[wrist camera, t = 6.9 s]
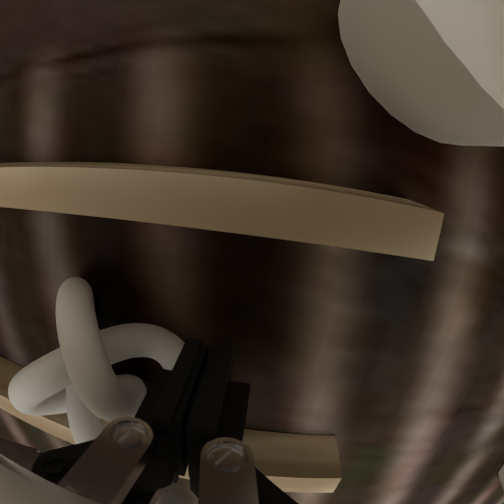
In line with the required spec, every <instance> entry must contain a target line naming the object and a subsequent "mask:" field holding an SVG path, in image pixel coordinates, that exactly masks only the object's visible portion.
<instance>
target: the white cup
mask: <svg viewBox="0 0 504 504" xmlns="http://www.w3.org/2000/svg"><path fill="white" fill-rule="evenodd" d="M498 478H499V481H500V483H501V485H502V488H503V490H504V464H503V466H502V467H501V469H500V471H499V472H498Z"/></svg>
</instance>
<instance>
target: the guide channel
mask: <svg viewBox="0 0 504 504" xmlns="http://www.w3.org/2000/svg"><path fill="white" fill-rule="evenodd" d="M0 207H8V208H18V209H28V210H38V211H48V212H58V213H67V214H76V215H86V216H95V217H104V218H113V219H122V220H130V221H139V222H148V223H156V224H164V225H173V226H181V227H189V228H197V229H206V230H214V231H221V232H229V233H237V234H245V235H253V236H260V237H268V238H275V239H283V240H290V241H298V242H305V243H312V244H320V245H327V246H334V247H341V248H348V249H355V250H362V251H369V252H376V253H383V254H390V255H397V256H403V257H410V258H417V259H423V260H430V261H434V257H435V253H436V249H437V245H438V240H439V236H440V232H441V227H442V222H443V217H444V213H442V212H440V211H437V210H435V209H432V208H430V207H427V206H424V205H422V204H419V203H417V202H414V201H411V200H408V199H404V198H399V197H395V196H390V195H384V194H379V193H374V192H369V191H363V190H358V189H352V188H346V187H341V186H335V185H328V184H322V183H316V182H309V181H303V180H296V179H288V178H281V177H274V176H266V175H258V174H249V173H241V172H231V171H222V170H212V169H201V168H189V167H176V166H162V165H146V164H127V163H100V162H15V163H0ZM23 368H24V367H21V366H19V365H17V364H15V363H13V362H11V361H8V360H6V359H4V358H2V357H0V408H2V409H3V410H5V411H7V412H9V413H10V414H12V415H14V416H16V417H18V418H19V419H21V420H23V421H25V422H27V423H29V424H31V425H33V426H35V427H37V428H39V429H41V430H43V431H45V432H47V433H49V434H52V435H54V436H56V437H58V438H60V439H63V440H65V441H67V442H70V443H72V444H76V443H75V441H74V439H73V436H72V433H71V430H70V426H69V422H68V416H67V413H62V414H54V415H41V416H33V415H27V414H23V413H21V412H19V411H18V410H16V409H15V408H14V407H13V405H12V403H11V402H10V400H9V396H8V387H9V383H10V381H11V380H12V378H13V377H14V376H15V375H16V374H17V373H18V372H19V371H20V370H21V369H23ZM100 420H101V423H102V426H103V429H104V428H105V427H106V426H107V425H108V424H109V423H110V422H107V421H104V420H102V419H100ZM243 442H244V443H245V444H246V445H248V446H249V448H250V449H251V450H252V452H253V456H254V463H255V467H256V468H257V469H258V470H259V471H260V472H261V473H263V474H264V475H265V476H266V477H267V478H268V479H269V480H270V481H272V482H273V483H274V484H275V485H276V486H277V487H279V488H280V489H281V490H282V491H283V492H310V493H327V492H333V491H334V490H335V488H336V487H337V485H338V484H339V482H340V480H341V479H342V476H341V469H340V462H339V456H338V449H337V443H336V437H335V436H330V435H305V434H290V433H277V432H267V431H258V430H249V429H244V435H243ZM179 477H180V478H185V479H190V478H189V474H188V467H187V470H186V474H185V476H180V475H179Z"/></svg>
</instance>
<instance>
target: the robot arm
mask: <svg viewBox="0 0 504 504" xmlns="http://www.w3.org/2000/svg"><path fill="white" fill-rule="evenodd" d="M233 355H234V345H230V344H223V343H219V344H218V347H216V346H212V348H211V351H210V354H209V357H208V345H204V344H203V340H198V339H193V338H187V340H186V342H185V344H184V346H183V348H182V350H181V352H180V354H179V356H178V358H177V360H176V363H175V365H174V367H173V369H172V370H167V369H162V368H161V369H159V371H158V372H157V374H156V376H155V378H154V380H153V382H152V384H151V386H150V388H149V389H148V391H147V393H146V395H145V397H144V399H143V401H142V403H141V405H140V407H139V409H138V411H137V413H136V415H135V416H134V417H121V418H117V419H115V420H113V421H111V422H110V423H109V424H108V425H107V426H106V427H105V428H104V430H103V431H102V432H101V433H100V434H99V436H98V437H97V438H96V439H94V440H90V441H86V442H83V443H79V444H75V445H71V446H67V447H63V448H58V449H54V450H50V451H47V452H44V453H41V452H39V450H38V449H35V448H32V447H28V446H25V445H22V444H18V443H15V442H12V441H9V440H6V439H3V438H0V504H155V503H156V501H157V500H158V498H159V496H160V494H161V492H162V488H164V487H166V486H169V485H171V482H174V483H177V481H178V477H179V475H180V476H185V474H186V470H187V467H188V474H189V478H190V489H191V490H192V492H193V493H194V494H195V495H196V496H197V497H198V504H298V503H297V502H295V501H294V500H293V499H292V498H291V497H289V496H288V495H287V494H286V493H284V492H283V491H282V490H281V489H280V488H279V487H277V486H276V485H275V484H274V483H273V482H272V481H270V480H269V479H268V478H267V477H266V476H265V475H264V474H263V473H261V472H260V471H259V470H258V469H257V468H256V467H255V463H254V456H253V452H252V450H251V449H250V448H249V446H248V445H246V444H245V443H244V442H243V435H244V428H245V420H246V413H247V406H248V398H249V391H250V384H248V383H241V382H234V381H231V375H232V365H233Z"/></svg>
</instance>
